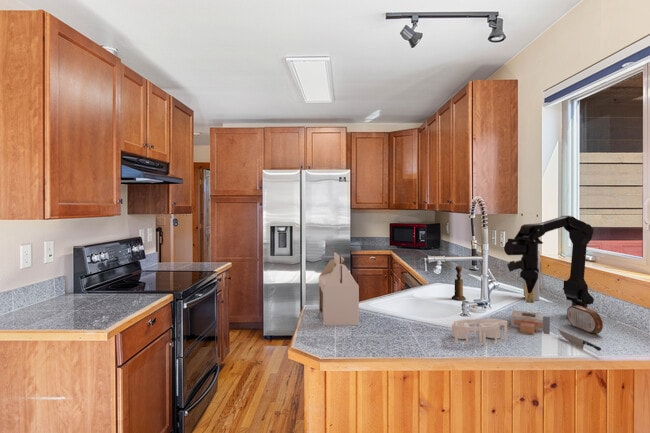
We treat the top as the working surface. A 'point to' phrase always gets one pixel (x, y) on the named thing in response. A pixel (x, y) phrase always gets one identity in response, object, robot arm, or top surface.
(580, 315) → the tin
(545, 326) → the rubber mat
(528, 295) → the brass pin
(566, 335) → the chef's knife
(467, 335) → the car outline toy
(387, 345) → the top surface
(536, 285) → the water bottle
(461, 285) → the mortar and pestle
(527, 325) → the clevis bracket
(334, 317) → the gable box
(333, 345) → the top surface
